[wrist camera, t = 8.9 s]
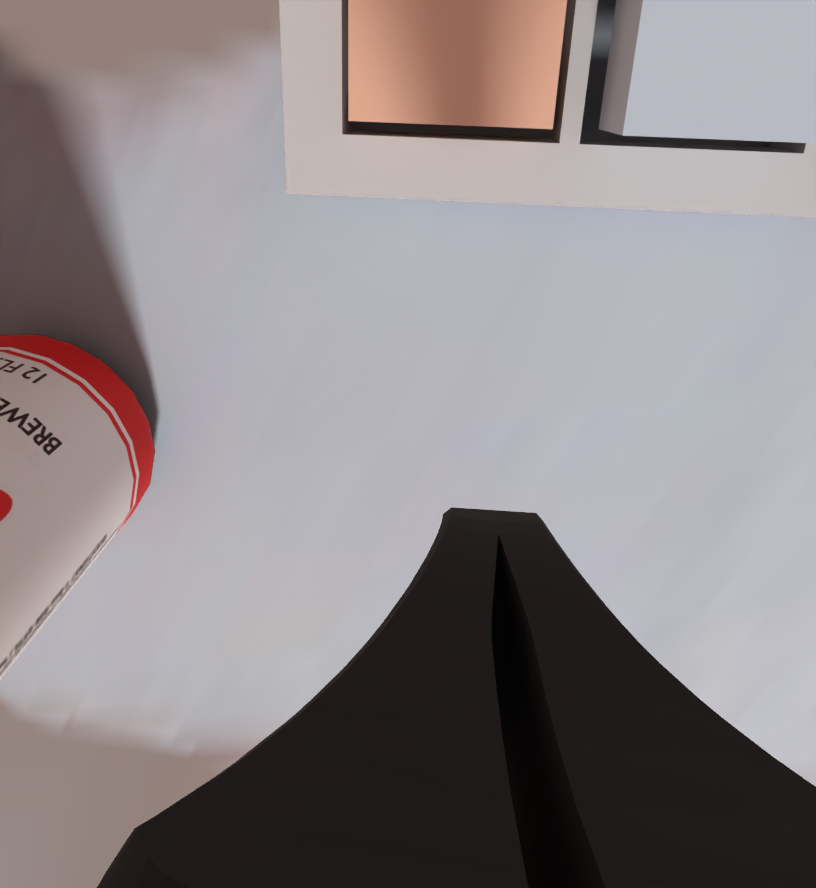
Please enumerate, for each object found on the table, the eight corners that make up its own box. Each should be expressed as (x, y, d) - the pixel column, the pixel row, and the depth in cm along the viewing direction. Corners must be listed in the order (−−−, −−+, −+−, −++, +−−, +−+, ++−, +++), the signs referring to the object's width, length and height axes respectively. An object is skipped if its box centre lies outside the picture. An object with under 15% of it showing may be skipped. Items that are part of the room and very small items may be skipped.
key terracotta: (563, -93, 14) (581, -128, 12) (540, 124, 16) (553, 129, 13) (366, -98, 14) (348, -133, 12) (364, 117, 16) (348, 121, 14)
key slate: (856, -105, 12) (939, -146, 10) (796, 137, 14) (856, 145, 12) (631, -110, 13) (665, -152, 10) (598, 129, 14) (622, 135, 12)
